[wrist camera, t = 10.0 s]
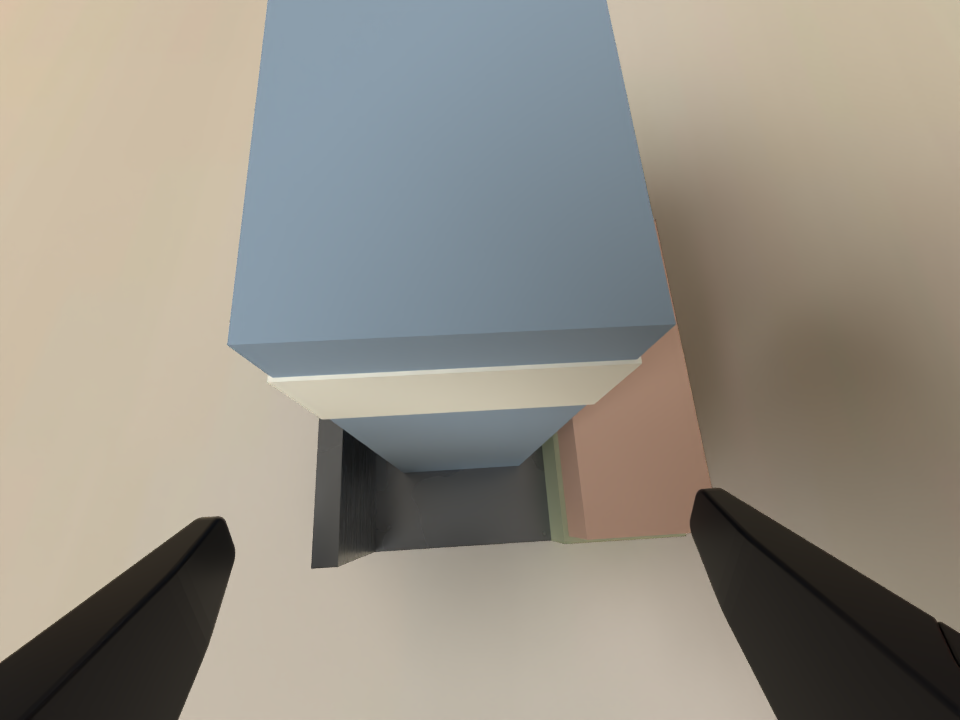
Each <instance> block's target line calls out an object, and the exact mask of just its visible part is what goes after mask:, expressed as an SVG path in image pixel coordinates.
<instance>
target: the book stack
mask: <svg viewBox="0 0 960 720" xmlns="http://www.w3.org/2000/svg"><path fill="white" fill-rule="evenodd" d="M654 224H655V229H656V233H657V238H658V243H659V247H660V252H661V257H662V261H663V266H664V270H665V275H666V280H667V284H668V289H669V294H670V298H671V303H672V308H673V312H674V317H675V322H676V325H675V326H674V327H673V328H671V329H670V330H669V331H668V332H667V333H666V334H665V335H664V336H663V337H661V338H660V339H659V340H658V341H657V342H656V343H655V344H654V345H653V346H651V347H650V348H649V349H648V350H647V351H646V352H645V353H644V354H643V355H641V359H642V364H641V365H640V366H639V367H637V368H636V369H635V370H634V371H633V372H632V373H630V374H629V375H628V376H627V377H626V378H625V379H623V380H622V381H621V382H620V383H619V384H618V385H616V386H615V387H614V388H613V389H612V390H610V391H609V392H608V393H607V394H606V395H605V396H603V397H602V398H601V399H600V400H599V401H598V402H596V403H595V404H593V405H586V406H585V407H584V408H583V409H581V410H580V411H579V412H578V413H577V414H576V415H575V416H574V417H573V418H571V419H570V420H569V421H568V422H567V423H566V424H565V425H564V426H563V427H561V428H560V429H559V430H558V431H557V432H556V433H555V434H554V435H553V436H551V437H550V438H549V439H548V440H547V441H546V442H545V443H544V444H543V445H542V451H543V461H544V471H545V481H546V491H547V501H548V511H549V521H550V531H551V540H552V541H556V542H559V543H563V544H572V543H587V542H603V541H618V540H633V539H649V538H664V537H679V536H686V533H691V530H690V516H691V512H692V508H693V504H694V500H695V496H696V493H697V491H698V490H700V489H705V488H712V486H711V482H710V477H709V472H708V467H707V463H706V458H705V453H704V448H703V444H702V439H701V434H700V429H699V425H698V420H697V415H696V410H695V406H694V401H693V396H692V391H691V387H690V382H689V377H688V372H687V368H686V363H685V358H684V353H683V349H682V344H681V339H680V334H679V330H678V325H677V320H676V315H675V311H674V306H673V301H672V296H671V292H670V287H669V282H668V277H667V273H666V268H665V263H664V258H663V254H662V249H661V244H660V239H659V235H658V230H657V225H656V220H654Z"/></svg>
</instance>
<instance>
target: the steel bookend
mask: <svg viewBox="0 0 960 720" xmlns="http://www.w3.org/2000/svg"><path fill="white" fill-rule="evenodd" d="M549 540H551V531H550V521H549V511H548V501H547V491H546V481H545V471H544V461H543V451H542V445H541V446H540V447H539V448H538V449H537V450H536V451H535V452H534V453H533V454H531V455H530V456H529V457H528V458H527V459H526V460H525V461H524V462H523V463H521V464H520V465H519V466H505V467H489V468H473V469H457V470H441V471H425V472H408V473H403V472H402V471H400V470H399V469H397V468H396V467H395V466H393V465H392V464H391V463H389V462H388V461H386V460H385V459H384V458H382V457H381V456H380V455H378V454H377V453H375V452H374V451H373V450H371V449H370V448H368V447H367V446H366V445H364V444H363V443H362V442H360V441H359V440H357V439H356V438H355V437H353V436H352V435H351V434H349V433H348V432H346V431H345V430H344V429H342V428H341V427H340V426H338V425H337V424H335V423H334V422H333V421H331V420H330V419H322V420H321V419H320V418H319V432H318V451H317V470H316V489H315V507H314V526H313V545H312V564H311V569H313V568H328V567H339V566H341V565H344V564H346V563H349V562H351V561H354V560H356V559H358V558H361V557H363V556H366V555H368V554H371V553H373V552H380V551H395V550H410V549H426V548H441V547H457V546H472V545H488V544H503V543H519V542H534V541H549Z"/></svg>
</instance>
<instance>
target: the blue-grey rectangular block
mask: <svg viewBox="0 0 960 720" xmlns="http://www.w3.org/2000/svg"><path fill="white" fill-rule="evenodd" d="M675 325H676V322H675V317H674V312H673V308H672V303H671V298H670V294H669V289H668V284H667V280H666V275H665V270H664V266H663V261H662V257H661V252H660V247H659V243H658V238H657V233H656V229H655V224H654V219H653V215H652V210H651V206H650V201H649V196H648V192H647V187H646V182H645V178H644V173H643V168H642V164H641V159H640V155H639V150H638V145H637V141H636V136H635V131H634V127H633V122H632V117H631V113H630V108H629V103H628V99H627V94H626V90H625V85H624V80H623V76H622V71H621V66H620V62H619V57H618V52H617V48H616V43H615V39H614V34H613V29H612V25H611V20H610V15H609V11H608V6H607V1H606V0H268V3H267V12H266V20H265V29H264V37H263V46H262V54H261V63H260V71H259V80H258V88H257V97H256V105H255V114H254V122H253V131H252V139H251V148H250V156H249V165H248V173H247V182H246V190H245V199H244V207H243V216H242V224H241V233H240V241H239V250H238V258H237V267H236V275H235V284H234V292H233V301H232V309H231V318H230V326H229V335H228V343H227V345H228V346H229V347H231V348H232V349H233V350H235V351H236V352H237V353H239V354H240V355H242V356H243V357H244V358H246V359H247V360H248V361H250V362H251V363H253V364H254V365H255V366H257V367H258V368H260V369H261V370H262V371H264V372H265V373H266V374H268V379H267V383H269V384H270V385H272V386H273V387H275V388H276V389H277V390H279V391H280V392H282V393H283V394H285V395H286V396H288V397H289V398H291V399H292V400H294V401H295V402H297V403H298V404H299V405H301V406H302V407H304V408H305V409H307V410H308V411H310V412H311V413H313V414H314V415H316V416H317V417H319V418H320V419H321V420H322V419H330V420H331V421H333V422H334V423H335V424H337V425H338V426H340V427H341V428H342V429H344V430H345V431H346V432H348V433H349V434H351V435H352V436H353V437H355V438H356V439H357V440H359V441H360V442H362V443H363V444H364V445H366V446H367V447H368V448H370V449H371V450H373V451H374V452H375V453H377V454H378V455H380V456H381V457H382V458H384V459H385V460H386V461H388V462H389V463H391V464H392V465H393V466H395V467H396V468H397V469H399V470H400V471H402V472H403V473H408V472H425V471H441V470H457V469H473V468H489V467H505V466H519V465H520V464H521V463H523V462H524V461H525V460H526V459H527V458H528V457H529V456H530V455H531V454H533V453H534V452H535V451H536V450H537V449H538V448H539V447H540V446H541V445H543V444H544V443H545V442H546V441H547V440H548V439H549V438H550V437H551V436H553V435H554V434H555V433H556V432H557V431H558V430H559V429H560V428H561V427H563V426H564V425H565V424H566V423H567V422H568V421H569V420H570V419H571V418H573V417H574V416H575V415H576V414H577V413H578V412H579V411H580V410H581V409H583V408H584V407H585V406H586V405H593V404H595V403H596V402H598V401H599V400H600V399H601V398H602V397H603V396H605V395H606V394H607V393H608V392H609V391H610V390H612V389H613V388H614V387H615V386H616V385H618V384H619V383H620V382H621V381H622V380H623V379H625V378H626V377H627V376H628V375H629V374H630V373H632V372H633V371H634V370H635V369H636V368H637V367H639V366H640V365H641V364H642V359H641V355H643V354H644V353H645V352H646V351H647V350H648V349H649V348H650V347H651V346H653V345H654V344H655V343H656V342H657V341H658V340H659V339H660V338H661V337H663V336H664V335H665V334H666V333H667V332H668V331H669V330H670V329H671V328H673V327H674V326H675Z"/></svg>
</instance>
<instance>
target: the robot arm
mask: <svg viewBox="0 0 960 720" xmlns="http://www.w3.org/2000/svg"><path fill="white" fill-rule="evenodd" d="M690 530H691V534H692V536H693V539H694V541H695V544H696V546H697V549H698V552H699V554H700V557H701V559H702V562H703V564H704V567H705V569H706V572H707V574H708V577H709V580H710V582H711V585H712V587H713V590H714V592H715V595H716V597H717V600H718V602H719V604H720V607H721V609H722V611H723V613H724V615H725V617H726V619H727V622H728V624H729V626H730V627H731V629H732V631H733V633H734V635H735V637H736V639H737V641H738V643H739V645H740V647H741V649H742V651H743V653H744V655H745V657H746V659H747V661H748V663H749V665H750V667H751V669H752V670H753V672H754V674H755V676H756V678H757V680H758V682H759V684H760V686H761V688H762V690H763V692H764V694H765V696H766V698H767V700H768V702H769V704H770V706H771V708H772V710H773V712H774V714H775V715H776V717H777V719H778V720H960V633H959V632H957V631H956V630H954V629H952V628H951V627H949V626H947V625H946V624H944V623H942V622H937V621H936V619H935V618H934V617H932V616H931V615H929V614H927V613H926V612H924V611H922V610H921V609H919V608H917V607H916V606H914V605H912V604H911V603H909V602H908V601H906V600H904V599H903V598H901V597H899V596H898V595H896V594H894V593H893V592H891V591H889V590H888V589H886V588H885V587H883V586H881V585H880V584H878V583H876V582H875V581H873V580H871V579H870V578H868V577H866V576H865V575H863V574H861V573H860V572H858V571H857V570H855V569H853V568H852V567H850V566H848V565H847V564H845V563H843V562H842V561H840V560H838V559H837V558H835V557H833V556H832V555H830V554H829V553H827V552H825V551H824V550H822V549H820V548H819V547H817V546H815V545H814V544H812V543H810V542H809V541H807V540H805V539H804V538H802V537H801V536H799V535H797V534H796V533H794V532H792V531H791V530H789V529H787V528H786V527H784V526H782V525H781V524H779V523H778V522H776V521H774V520H773V519H771V518H769V517H768V516H766V515H764V514H763V513H761V512H759V511H758V510H756V509H754V508H753V507H751V506H750V505H748V504H746V503H745V502H743V501H741V500H740V499H738V498H736V497H735V496H733V495H731V494H730V493H728V492H726V491H725V490H723V489H721V488H705V489H700V490H698V491H697V493H696V496H695V500H694V504H693V508H692V512H691V516H690ZM234 560H235V547H234V544H233V541H232V538H231V535H230V532H229V529H228V526H227V523H226V521H225V519H224V518H222V517H219V516H216V517H201V518H198V519H196V520H194V521H193V522H192V523H190V524H189V525H188V526H186V527H185V528H183V529H182V530H181V531H179V532H178V533H177V534H175V535H174V536H173V537H171V538H170V539H168V540H167V541H166V542H164V543H163V544H162V545H160V546H159V547H158V548H156V549H155V550H153V551H152V552H151V553H149V554H148V555H147V556H145V557H144V558H142V559H141V560H140V561H138V562H137V563H136V564H134V565H133V566H132V567H130V568H129V569H127V570H126V571H125V572H123V573H122V574H121V575H119V576H118V577H117V578H115V579H114V580H112V581H111V582H110V583H108V584H107V585H106V586H104V587H103V588H102V589H100V590H99V591H97V592H96V593H95V594H93V595H92V596H91V597H89V598H88V599H87V600H85V601H84V602H82V603H81V604H80V605H78V606H77V607H76V608H74V609H73V610H72V611H70V612H69V613H67V614H66V615H65V616H63V617H62V618H61V619H59V620H58V621H57V622H55V623H54V624H52V625H51V626H50V627H48V628H47V629H46V630H44V631H43V632H41V633H40V634H39V635H37V636H36V637H35V638H33V639H32V640H31V641H29V642H28V643H26V644H25V645H24V646H22V647H21V648H20V649H18V650H17V651H16V652H14V653H13V654H11V655H10V656H9V657H7V658H6V659H5V660H3V661H2V662H0V720H178V719H179V716H180V714H181V711H182V709H183V707H184V704H185V702H186V699H187V697H188V694H189V692H190V690H191V687H192V685H193V682H194V680H195V678H196V675H197V673H198V670H199V668H200V665H201V663H202V661H203V658H204V655H205V653H206V650H207V648H208V645H209V642H210V639H211V636H212V633H213V630H214V627H215V623H216V620H217V617H218V613H219V610H220V607H221V603H222V600H223V597H224V593H225V590H226V587H227V584H228V580H229V577H230V574H231V570H232V567H233V564H234Z"/></svg>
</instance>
